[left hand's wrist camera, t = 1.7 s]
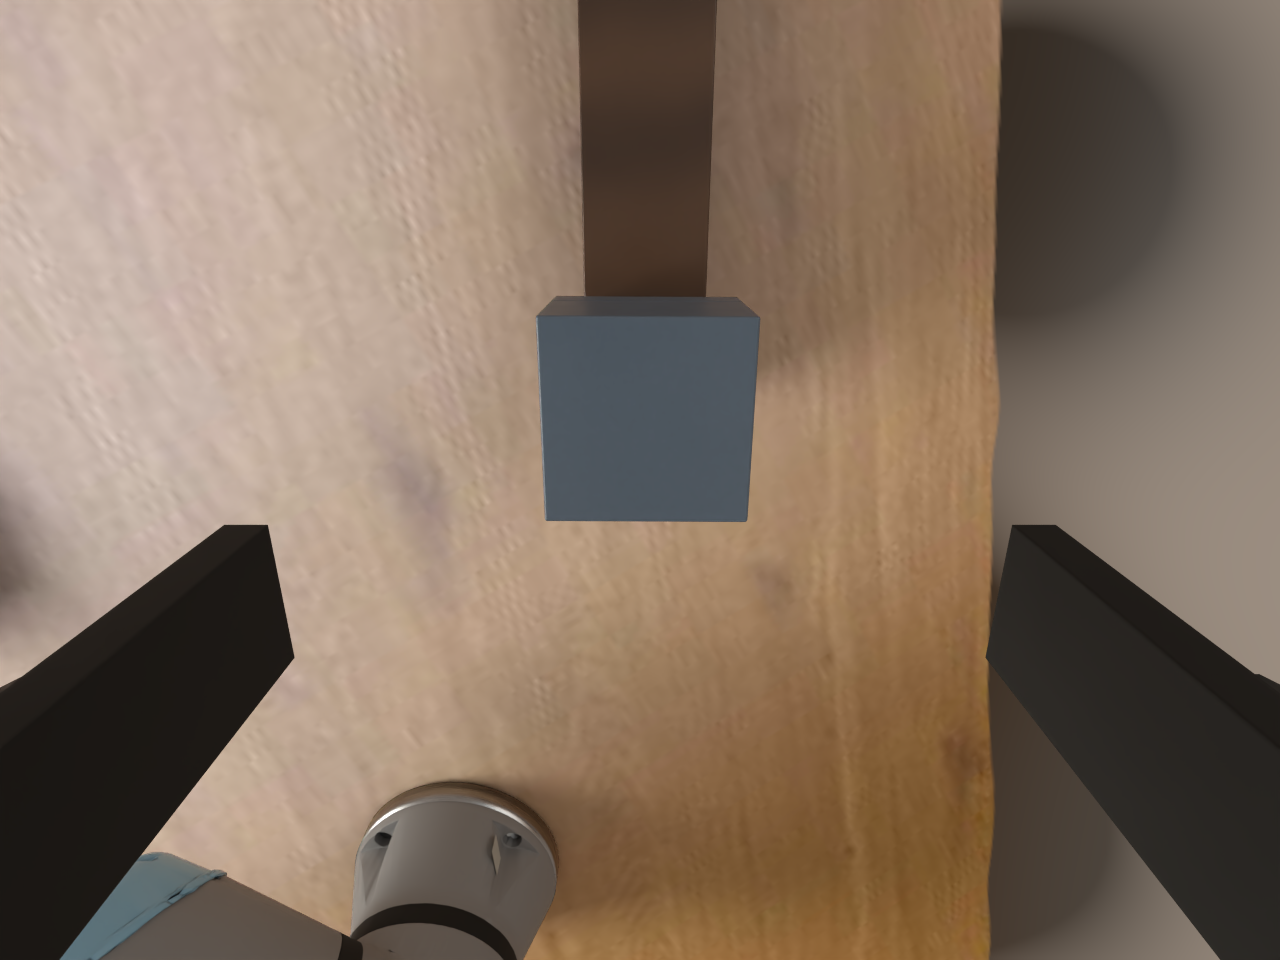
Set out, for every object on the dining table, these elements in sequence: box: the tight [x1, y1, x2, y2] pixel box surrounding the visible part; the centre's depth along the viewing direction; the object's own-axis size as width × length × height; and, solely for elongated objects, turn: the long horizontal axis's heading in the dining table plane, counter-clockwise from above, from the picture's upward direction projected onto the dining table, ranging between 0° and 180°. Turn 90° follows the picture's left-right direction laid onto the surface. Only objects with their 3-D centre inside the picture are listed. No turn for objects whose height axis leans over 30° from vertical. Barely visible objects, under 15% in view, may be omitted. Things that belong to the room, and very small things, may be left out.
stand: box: [578, 0, 717, 297], centre depth 31 cm, size 26×6×16 cm, turn 0°
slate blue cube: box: [536, 296, 760, 522], centre depth 26 cm, size 7×7×6 cm
